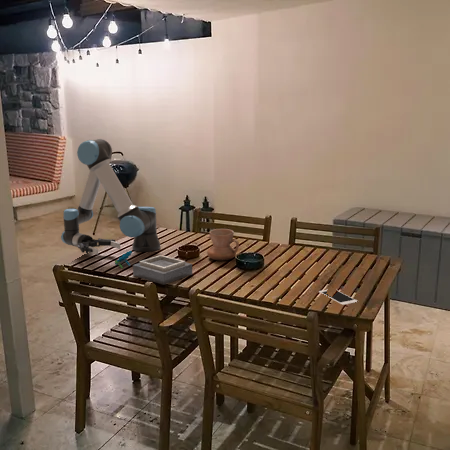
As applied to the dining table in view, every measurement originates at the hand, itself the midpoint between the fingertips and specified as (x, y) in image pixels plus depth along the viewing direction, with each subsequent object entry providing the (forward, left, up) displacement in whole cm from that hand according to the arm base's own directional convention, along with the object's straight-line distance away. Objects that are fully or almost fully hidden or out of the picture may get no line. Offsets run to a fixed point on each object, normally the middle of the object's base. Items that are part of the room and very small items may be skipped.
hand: (108, 248), depth 247 cm
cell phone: (-27, +111, -7) cm, 114 cm away
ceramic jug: (-39, +41, -7) cm, 57 cm away
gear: (0, +11, -7) cm, 13 cm away
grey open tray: (-2, +36, -7) cm, 37 cm away
